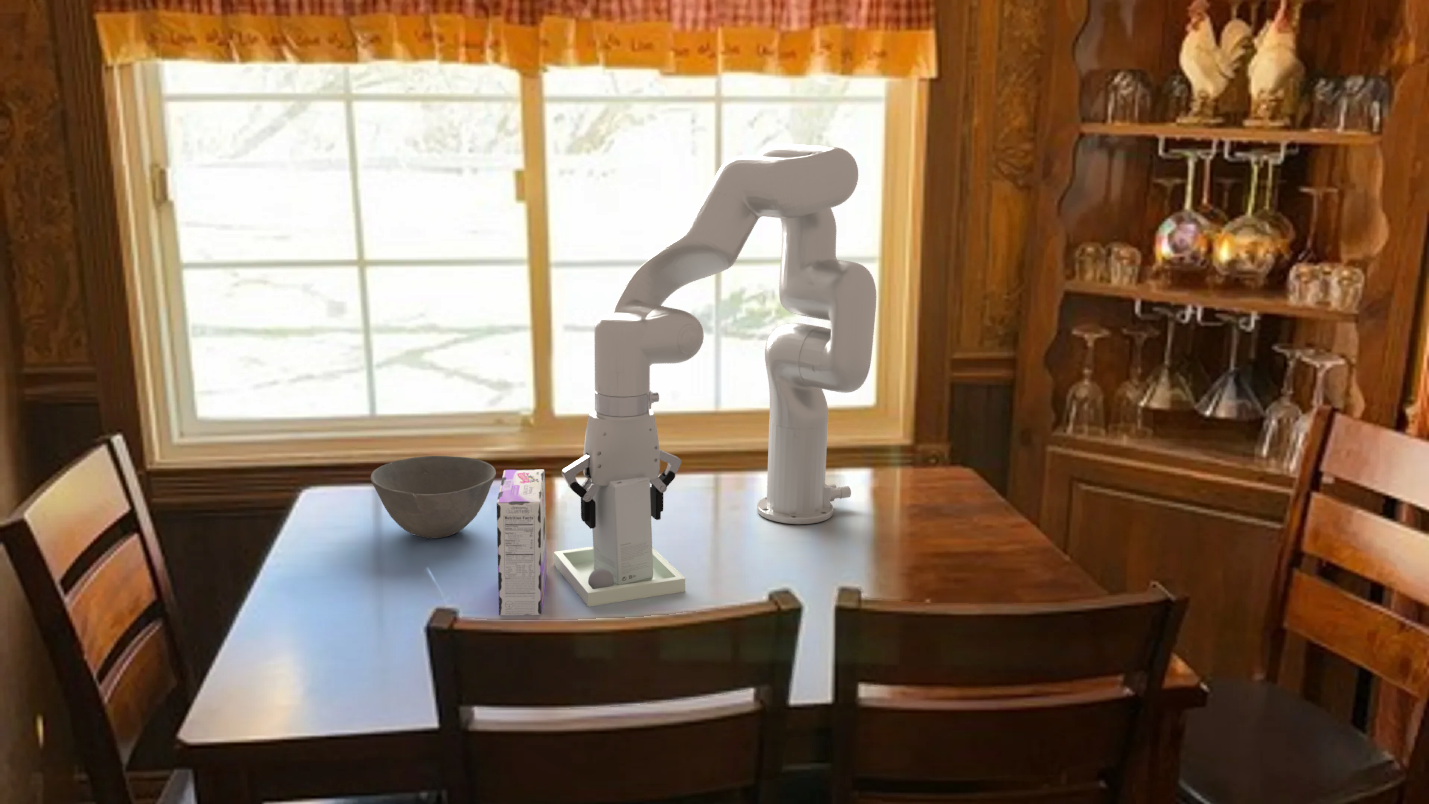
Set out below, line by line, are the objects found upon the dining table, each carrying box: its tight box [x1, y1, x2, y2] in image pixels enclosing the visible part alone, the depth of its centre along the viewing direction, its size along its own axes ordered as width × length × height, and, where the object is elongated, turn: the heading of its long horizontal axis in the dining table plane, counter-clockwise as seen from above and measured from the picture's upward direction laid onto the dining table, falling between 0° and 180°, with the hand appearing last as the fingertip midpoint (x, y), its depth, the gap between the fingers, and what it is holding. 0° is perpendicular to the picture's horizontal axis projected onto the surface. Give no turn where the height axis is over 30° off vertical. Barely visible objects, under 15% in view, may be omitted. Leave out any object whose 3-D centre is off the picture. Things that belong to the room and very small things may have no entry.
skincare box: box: [592, 477, 653, 585], centre depth 173 cm, size 8×6×15 cm
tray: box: [553, 546, 686, 607], centre depth 173 cm, size 14×16×2 cm
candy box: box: [496, 468, 548, 616], centre depth 165 cm, size 14×6×16 cm, turn 5°
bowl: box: [370, 455, 497, 539], centre depth 189 cm, size 19×19×10 cm
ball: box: [588, 568, 614, 589], centre depth 168 cm, size 4×4×4 cm
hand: (622, 521), depth 173 cm, fingers open, 9 cm apart
